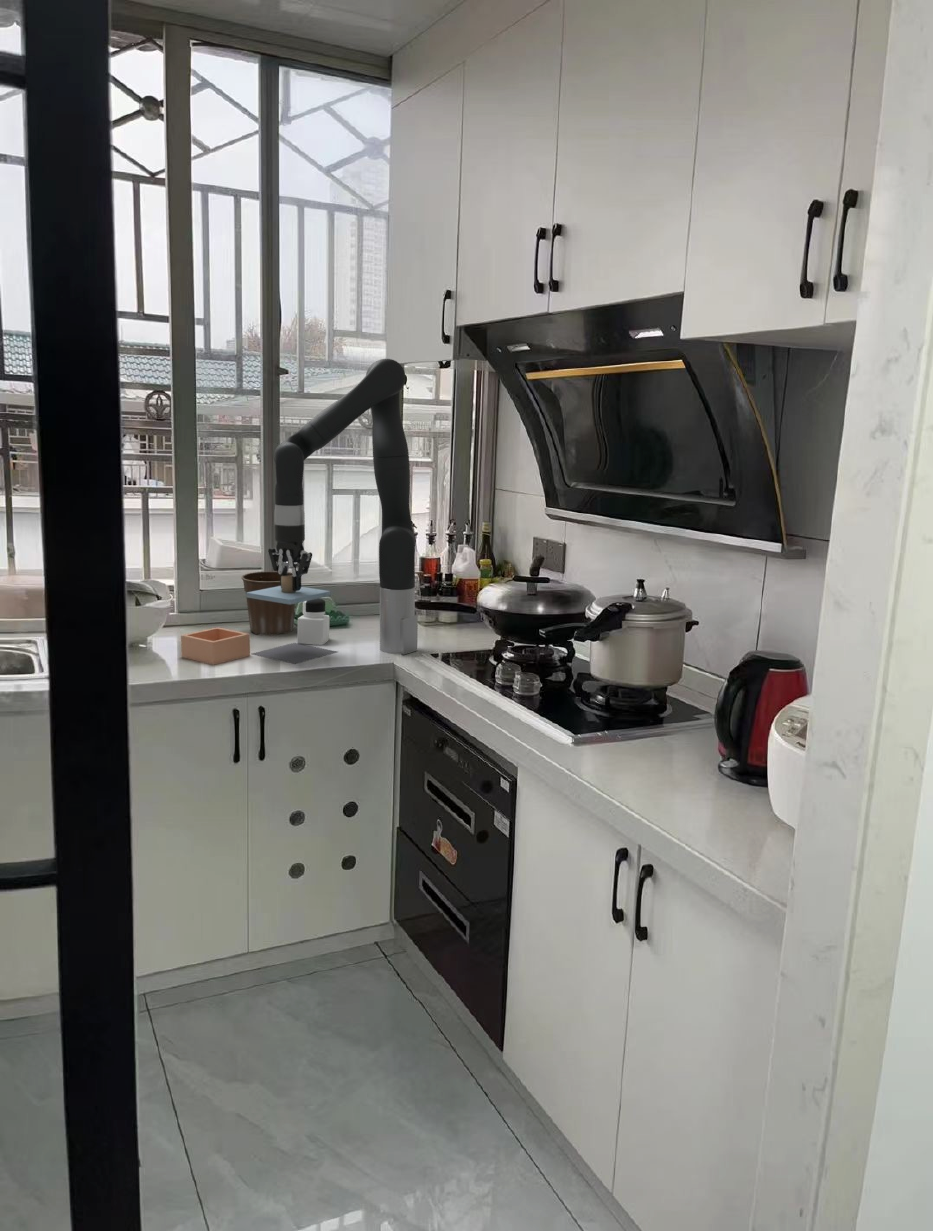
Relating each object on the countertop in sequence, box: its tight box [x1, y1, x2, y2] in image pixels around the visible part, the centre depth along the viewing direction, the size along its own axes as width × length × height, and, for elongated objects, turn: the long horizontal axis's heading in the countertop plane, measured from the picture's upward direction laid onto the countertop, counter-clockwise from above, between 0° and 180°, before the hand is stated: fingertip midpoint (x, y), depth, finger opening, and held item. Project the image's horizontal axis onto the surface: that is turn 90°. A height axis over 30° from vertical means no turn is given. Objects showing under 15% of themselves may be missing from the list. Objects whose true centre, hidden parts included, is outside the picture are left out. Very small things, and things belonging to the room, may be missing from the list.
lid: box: [245, 575, 331, 605], centre depth 248 cm, size 15×15×5 cm
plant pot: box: [241, 570, 296, 636], centre depth 276 cm, size 16×16×16 cm
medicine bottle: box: [296, 598, 331, 646], centre depth 264 cm, size 7×7×12 cm
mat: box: [251, 642, 338, 665], centre depth 252 cm, size 16×16×1 cm
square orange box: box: [180, 626, 251, 666], centre depth 247 cm, size 12×12×6 cm
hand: (290, 589), depth 248 cm, fingers closed on lid, 3 cm apart
